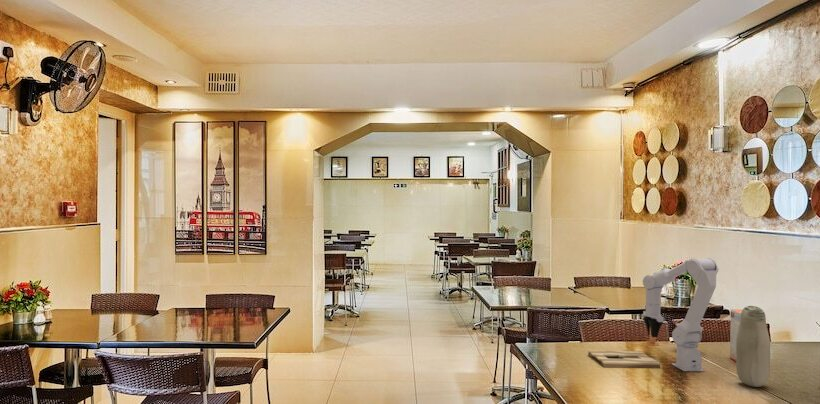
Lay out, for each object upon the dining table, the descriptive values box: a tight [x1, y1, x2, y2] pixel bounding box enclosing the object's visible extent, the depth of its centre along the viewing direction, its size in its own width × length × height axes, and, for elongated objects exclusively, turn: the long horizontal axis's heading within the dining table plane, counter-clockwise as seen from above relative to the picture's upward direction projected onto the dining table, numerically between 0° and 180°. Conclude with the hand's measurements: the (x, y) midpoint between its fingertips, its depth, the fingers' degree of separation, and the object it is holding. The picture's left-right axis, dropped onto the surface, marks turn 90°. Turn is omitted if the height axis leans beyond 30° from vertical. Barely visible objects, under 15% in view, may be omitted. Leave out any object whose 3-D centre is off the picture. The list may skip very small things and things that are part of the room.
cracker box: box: [729, 308, 743, 363], centre depth 226 cm, size 14×6×21 cm, turn 168°
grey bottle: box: [735, 305, 771, 388], centre depth 196 cm, size 10×10×28 cm
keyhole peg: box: [646, 328, 660, 347], centre depth 233 cm, size 5×5×9 cm
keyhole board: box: [587, 350, 661, 369], centre depth 225 cm, size 18×22×2 cm
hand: (652, 336), depth 233 cm, fingers closed on keyhole peg, 2 cm apart
